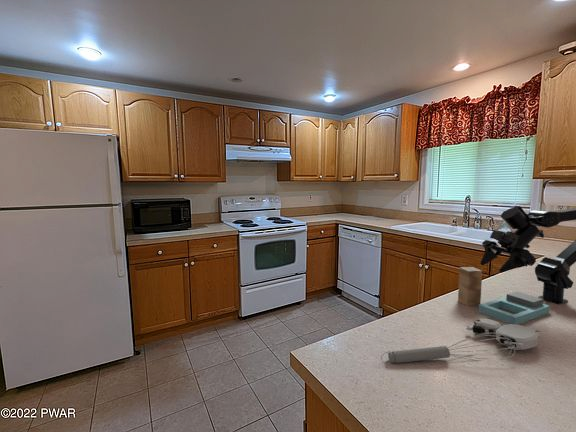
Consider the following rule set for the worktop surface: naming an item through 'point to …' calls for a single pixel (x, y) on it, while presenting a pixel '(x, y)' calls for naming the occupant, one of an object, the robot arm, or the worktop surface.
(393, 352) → the kitchen whisk
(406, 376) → the worktop surface
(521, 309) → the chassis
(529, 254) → the robot arm
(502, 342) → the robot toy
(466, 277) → the upright wooden block
